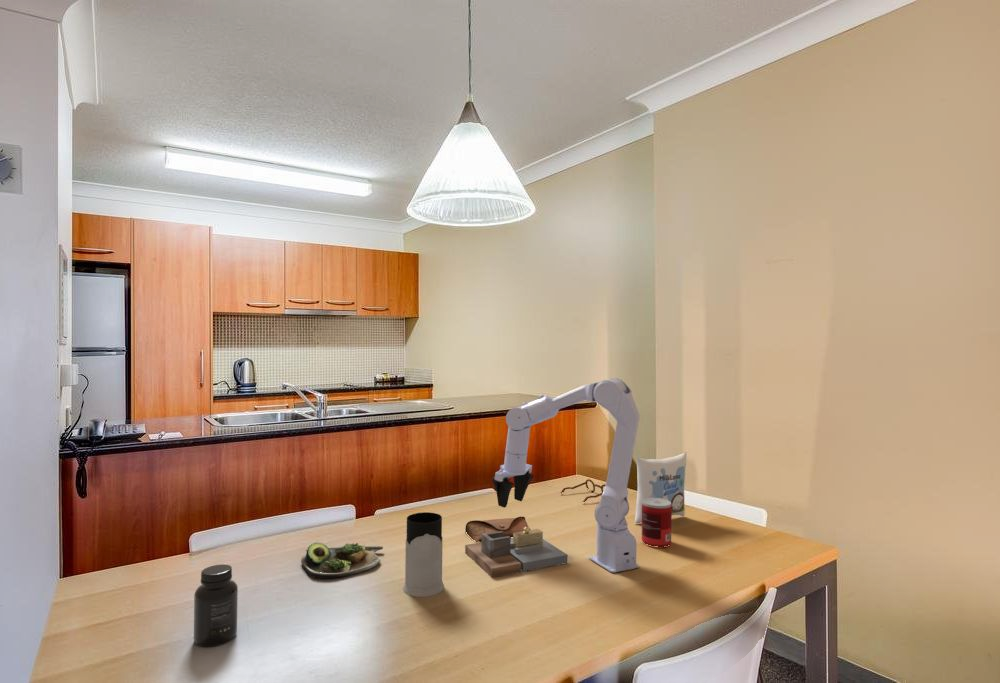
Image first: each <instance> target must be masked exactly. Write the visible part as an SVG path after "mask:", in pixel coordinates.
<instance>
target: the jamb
mask: <svg viewBox="0 0 1000 683" xmlns="http://www.w3.org/2000/svg"><path fill="white" fill-rule="evenodd" d="M464 547H465V548H464V553H465V554H466V555H467V556H468V557H469V558H470V559H471V558H472V559H471V560H472V561H473V560H474V561H475V562H474V561H473V562H474V563H475V564H476V565H477V566H478V567H480V568H481V569H482V570H483V571H484V572H485V573H486V574H487V573H488V576H490V577H491V578H496V576H497V577H501V576H506V575H507V574H508V575H512V573H513V574H518V573H521V572H522V570H521V563H520V562H519V561H518V560H516V559H515V558H514V557H512V556H511V555H510V549H511V537H509V536H506V537H503V532H502V531H498V532H491V533H484V534H482V539H481V542H473V543H468V544H465V546H464ZM517 572H518V573H517Z"/></svg>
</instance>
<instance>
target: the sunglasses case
mask: <svg viewBox="0 0 1000 683" xmlns="http://www.w3.org/2000/svg"><path fill="white" fill-rule="evenodd" d="M524 527H529V525H528V523H527V521H526V517H525V516H517V517H509V518H508V517H507V518H496V519H495V518H493V519H486V520H470V521H468V522H466V524H465V528H464V529H465V533H466V532H467V534H468V535H469V536H470V537H471V538H472V539H473V540H475V541H481V539H482V534H484V533H491V532H498V531H502V532H503V537H506V536H509V537H513V533H515V532H521V531H524ZM529 530H531V528H529ZM467 534H466V535H467ZM468 535H467V536H468ZM469 536H468V537H469ZM470 537H469V538H470ZM471 538H470V539H471ZM472 539H471V540H472ZM473 540H472V541H473Z"/></svg>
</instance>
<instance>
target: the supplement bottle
mask: <svg viewBox="0 0 1000 683" xmlns="http://www.w3.org/2000/svg"><path fill="white" fill-rule="evenodd" d="M232 569H233V567H232V566H231V565H229V564H224V563H223V564H214V565H210V566H208V567H205V568H204V569H202V570H201V573H200V585H199V586H198V587H197V588H196V589H195V591H194V595H193V596H194V597H193V599H194V600H193V642H194V643H195V645H197V646H199V647H201V648H211V647H213V648H214V647H218V646H221V645H224V644H226V643H228V642H230V641H231V640H232V639H233V638H235V637H236V635H237V631H238V608H239V607H238V606H239V605H238V604H239V603H238V600H239V599H238V598H239V597H238V594H239V593H238V592H239V588H238V584H237V583H236V581H234V580H232V578H233V574H232V572H233V571H232Z"/></svg>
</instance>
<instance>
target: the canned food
mask: <svg viewBox="0 0 1000 683" xmlns="http://www.w3.org/2000/svg"><path fill="white" fill-rule="evenodd" d="M672 516H673V515H672V505H671V502H670V501H668V500H666V499H661V498H646V499H643V500H642V522H641V541H643V542H644V543H645V544H648V545H651V546H658V547H664V546H668V545H670V546H671V544H672V523H673V522H672V520H673V519H672V518H673V517H672ZM643 542H642V543H643ZM644 543H643V544H644ZM645 544H644V545H645ZM668 547H669V546H668Z"/></svg>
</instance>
